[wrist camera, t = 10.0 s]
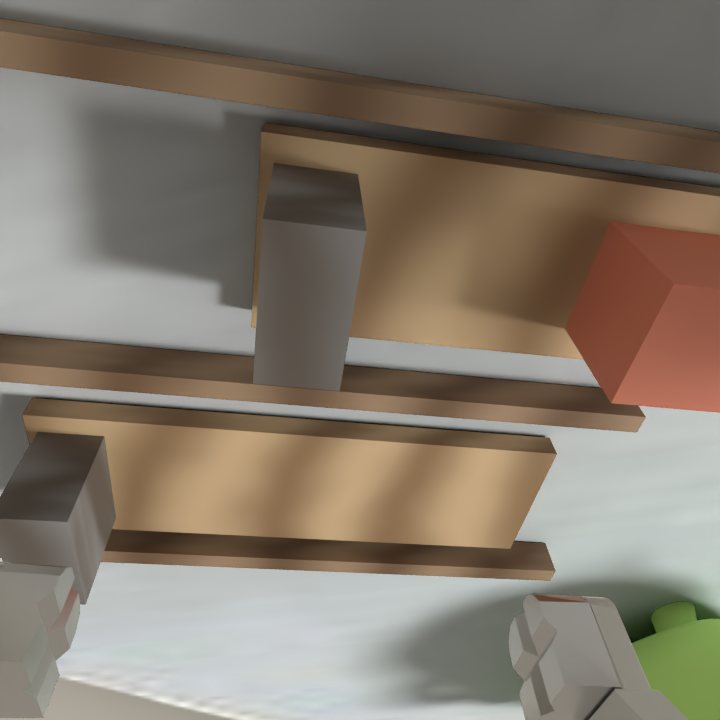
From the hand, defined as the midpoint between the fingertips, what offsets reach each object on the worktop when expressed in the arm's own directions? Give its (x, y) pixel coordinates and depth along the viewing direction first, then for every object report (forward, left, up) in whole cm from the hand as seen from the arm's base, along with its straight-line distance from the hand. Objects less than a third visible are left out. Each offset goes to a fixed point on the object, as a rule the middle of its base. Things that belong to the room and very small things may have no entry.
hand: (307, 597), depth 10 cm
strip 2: (-1, +14, -16) cm, 21 cm away
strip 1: (-11, 0, -16) cm, 19 cm away
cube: (-14, 0, -15) cm, 20 cm away
